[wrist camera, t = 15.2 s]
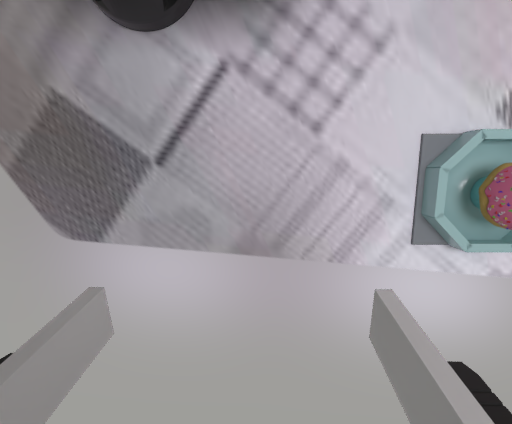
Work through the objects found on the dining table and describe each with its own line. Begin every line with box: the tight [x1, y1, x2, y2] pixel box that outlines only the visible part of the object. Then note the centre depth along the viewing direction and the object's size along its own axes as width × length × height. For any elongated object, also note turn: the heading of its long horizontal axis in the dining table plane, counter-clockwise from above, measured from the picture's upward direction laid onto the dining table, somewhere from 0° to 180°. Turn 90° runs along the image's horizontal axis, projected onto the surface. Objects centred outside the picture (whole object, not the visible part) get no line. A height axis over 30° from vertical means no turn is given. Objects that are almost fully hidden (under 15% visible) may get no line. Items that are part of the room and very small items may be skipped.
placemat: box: [411, 134, 462, 245], centre depth 39 cm, size 16×18×1 cm
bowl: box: [421, 129, 512, 252], centre depth 37 cm, size 16×16×3 cm
